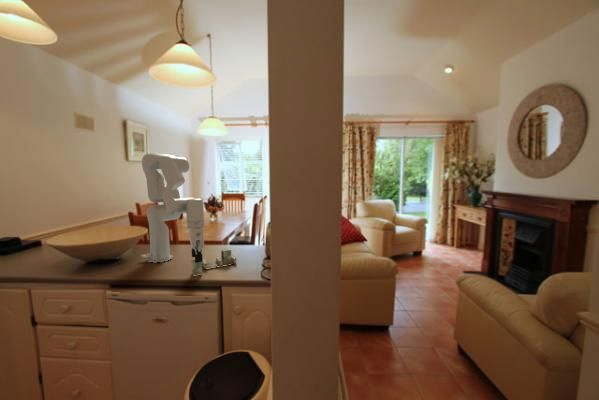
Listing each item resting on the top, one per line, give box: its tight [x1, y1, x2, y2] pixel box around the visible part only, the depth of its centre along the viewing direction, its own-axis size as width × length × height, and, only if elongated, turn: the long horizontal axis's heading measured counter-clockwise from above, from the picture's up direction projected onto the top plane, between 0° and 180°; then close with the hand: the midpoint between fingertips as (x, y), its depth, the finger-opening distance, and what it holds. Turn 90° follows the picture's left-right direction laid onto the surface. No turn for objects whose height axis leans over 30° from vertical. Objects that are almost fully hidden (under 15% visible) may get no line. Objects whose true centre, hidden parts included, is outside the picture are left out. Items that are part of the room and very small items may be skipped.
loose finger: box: [190, 259, 204, 275], centre depth 119 cm, size 4×4×7 cm
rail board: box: [202, 247, 238, 269], centre depth 132 cm, size 16×8×8 cm, turn 122°
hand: (197, 259), depth 118 cm, fingers open, 9 cm apart
